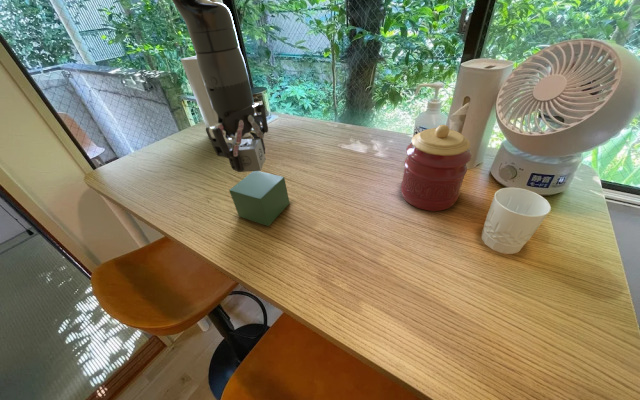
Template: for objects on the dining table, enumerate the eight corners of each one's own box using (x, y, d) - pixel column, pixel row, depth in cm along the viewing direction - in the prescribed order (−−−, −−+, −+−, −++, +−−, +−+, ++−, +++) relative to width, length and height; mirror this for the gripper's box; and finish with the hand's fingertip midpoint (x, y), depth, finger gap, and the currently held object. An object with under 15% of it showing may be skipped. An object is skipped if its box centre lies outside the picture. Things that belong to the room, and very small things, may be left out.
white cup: (517, 229, 51) (539, 189, 45) (532, 260, 45) (560, 218, 39) (473, 224, 53) (489, 185, 47) (482, 253, 47) (501, 213, 41)
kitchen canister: (433, 175, 68) (448, 109, 57) (470, 203, 58) (496, 130, 47) (390, 187, 66) (397, 120, 55) (420, 218, 56) (437, 145, 45)
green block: (268, 226, 58) (260, 199, 53) (239, 216, 62) (228, 190, 57) (289, 203, 64) (284, 176, 59) (261, 195, 68) (254, 169, 63)
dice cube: (237, 172, 53) (230, 150, 50) (243, 160, 57) (237, 139, 54) (260, 170, 53) (254, 149, 50) (265, 158, 57) (260, 138, 54)
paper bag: (227, 145, 95) (198, 61, 77) (209, 136, 103) (179, 59, 86) (268, 128, 104) (250, 50, 87) (248, 120, 113) (229, 48, 96)
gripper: (238, 69, 51) (257, 145, 61) (177, 90, 41) (213, 176, 51) (268, 69, 47) (283, 150, 58) (210, 92, 38) (241, 183, 48)
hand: (250, 162), depth 54 cm, fingers closed on dice cube, 6 cm apart
